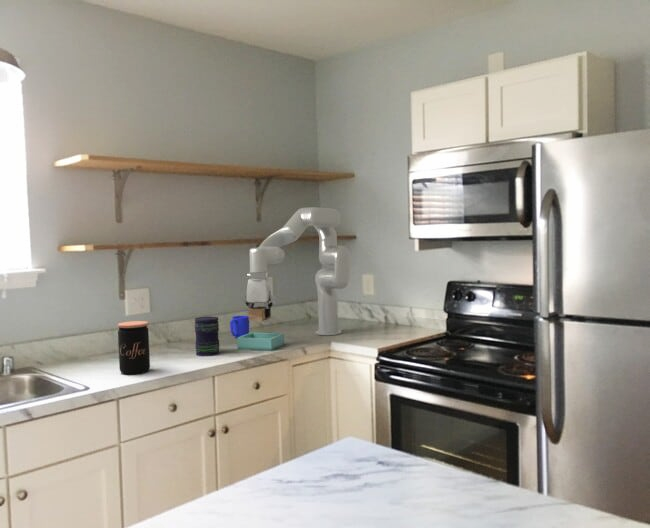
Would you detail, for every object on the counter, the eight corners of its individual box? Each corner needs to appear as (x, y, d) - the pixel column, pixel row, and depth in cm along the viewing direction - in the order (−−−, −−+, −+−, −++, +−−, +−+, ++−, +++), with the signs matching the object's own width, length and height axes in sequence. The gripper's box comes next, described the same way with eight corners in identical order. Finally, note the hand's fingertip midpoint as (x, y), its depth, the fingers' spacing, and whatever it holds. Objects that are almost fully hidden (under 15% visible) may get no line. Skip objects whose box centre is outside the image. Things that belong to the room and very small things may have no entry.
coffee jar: (116, 375, 218) (113, 325, 217) (124, 369, 228) (122, 321, 227) (146, 374, 218) (144, 324, 217) (153, 368, 229) (151, 320, 228)
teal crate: (251, 343, 274) (251, 332, 273) (284, 344, 268) (284, 333, 268) (237, 349, 261) (236, 337, 260) (271, 350, 255) (271, 339, 255)
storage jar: (192, 353, 255) (191, 318, 254) (214, 350, 260) (213, 315, 259) (200, 357, 246) (198, 320, 245) (223, 354, 251) (222, 318, 250)
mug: (224, 339, 285) (223, 318, 284) (239, 335, 295) (238, 315, 295) (238, 341, 281) (238, 319, 280) (253, 336, 292) (252, 315, 291)
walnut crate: (257, 317, 269) (257, 306, 269) (270, 318, 267) (270, 306, 267) (248, 320, 260) (248, 309, 260) (262, 321, 258) (261, 309, 258)
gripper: (236, 276, 262) (238, 318, 263) (273, 276, 256) (274, 319, 257) (244, 275, 269) (245, 315, 270) (280, 275, 263) (281, 316, 264)
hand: (259, 317), depth 264 cm, fingers closed on walnut crate, 6 cm apart
